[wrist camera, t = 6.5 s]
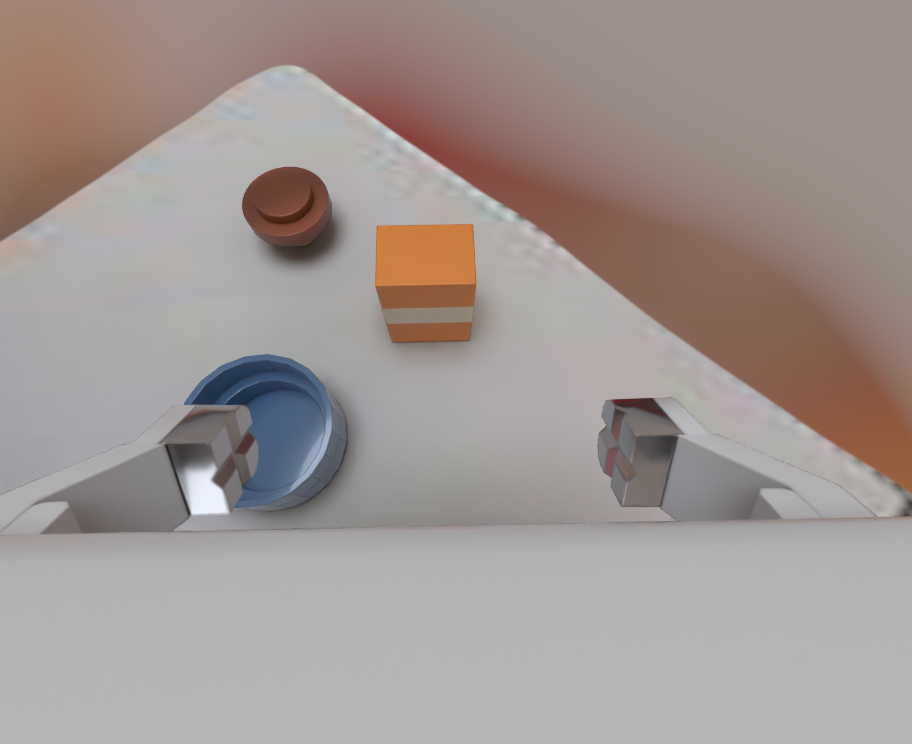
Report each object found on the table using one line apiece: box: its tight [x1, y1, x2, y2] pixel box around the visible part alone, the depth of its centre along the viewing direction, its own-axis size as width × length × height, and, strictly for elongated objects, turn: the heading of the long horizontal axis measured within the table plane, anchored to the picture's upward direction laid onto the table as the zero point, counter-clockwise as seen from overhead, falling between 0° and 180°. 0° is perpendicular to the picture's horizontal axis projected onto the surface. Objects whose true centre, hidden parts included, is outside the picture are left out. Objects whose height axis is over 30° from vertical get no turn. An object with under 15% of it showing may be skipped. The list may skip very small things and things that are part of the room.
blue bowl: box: [184, 354, 347, 511], centre depth 28 cm, size 9×9×4 cm
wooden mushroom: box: [242, 167, 332, 246], centre depth 33 cm, size 6×6×4 cm
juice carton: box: [375, 224, 476, 342], centre depth 29 cm, size 6×4×8 cm
